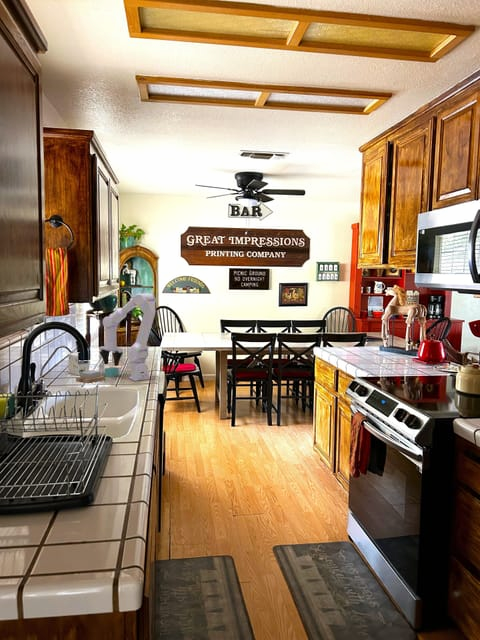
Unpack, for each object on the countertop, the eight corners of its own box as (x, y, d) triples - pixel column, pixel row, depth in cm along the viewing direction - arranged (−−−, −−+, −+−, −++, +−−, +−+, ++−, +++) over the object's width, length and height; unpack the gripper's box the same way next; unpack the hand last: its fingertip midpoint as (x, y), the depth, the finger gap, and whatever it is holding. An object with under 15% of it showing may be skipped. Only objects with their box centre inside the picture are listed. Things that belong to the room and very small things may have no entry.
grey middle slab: (100, 376, 242) (100, 371, 242) (89, 378, 236) (89, 373, 236) (91, 375, 246) (90, 370, 246) (80, 377, 240) (79, 372, 240)
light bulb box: (89, 373, 258) (89, 354, 258) (78, 375, 254) (77, 355, 253) (79, 371, 266) (79, 351, 265) (68, 373, 261) (67, 353, 260)
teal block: (118, 375, 255) (118, 368, 255) (111, 377, 251) (111, 369, 250) (111, 374, 258) (111, 367, 257) (104, 376, 253) (104, 368, 253)
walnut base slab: (105, 381, 243) (105, 376, 243) (89, 384, 235) (89, 379, 234) (91, 379, 248) (91, 374, 248) (76, 382, 240) (75, 377, 240)
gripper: (126, 339, 252) (126, 365, 253) (106, 337, 260) (107, 362, 261) (116, 341, 246) (116, 367, 247) (96, 338, 254) (97, 364, 255)
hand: (111, 364), depth 254 cm, fingers open, 7 cm apart
